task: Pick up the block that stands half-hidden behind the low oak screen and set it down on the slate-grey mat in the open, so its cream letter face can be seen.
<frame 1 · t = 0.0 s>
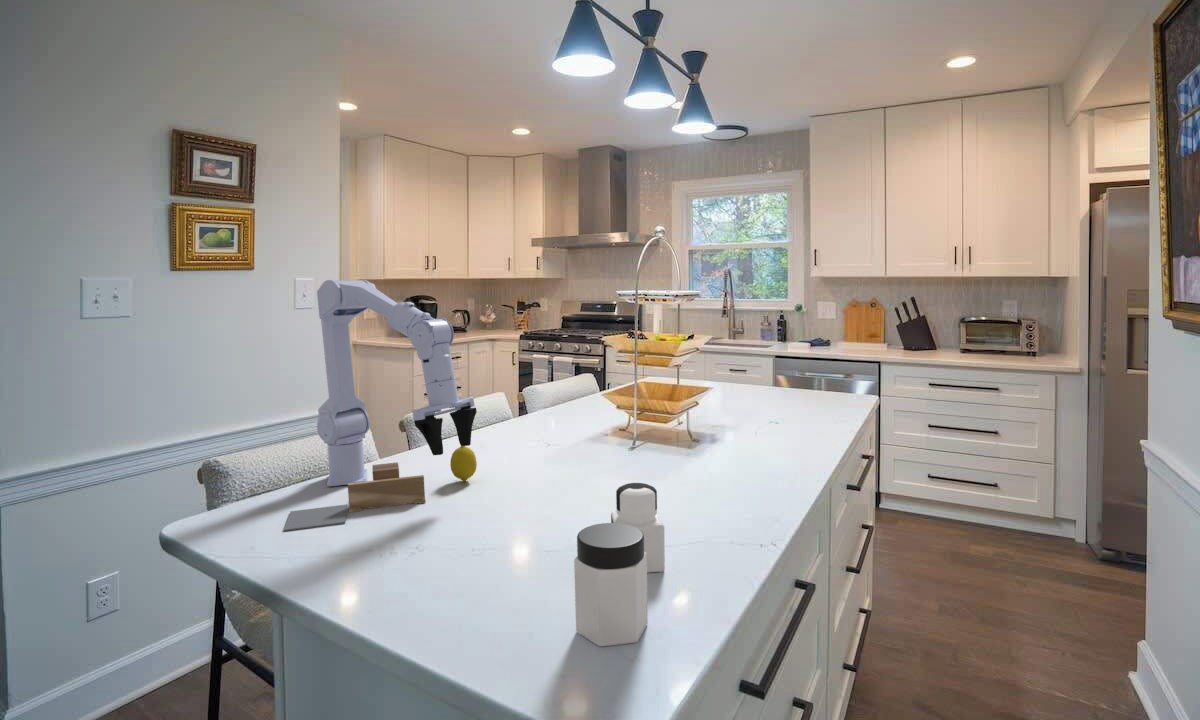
hand: (452, 450, 126), 11 cm above the counter, tool pointing down, fingers open, 7 cm apart
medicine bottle: (637, 564, 98), on the counter
letter block: (387, 495, 133), on the counter
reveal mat: (317, 517, 120), on the counter
jar: (612, 629, 80), on the counter
screen: (387, 504, 127), on the counter
lemon: (464, 482, 141), on the counter
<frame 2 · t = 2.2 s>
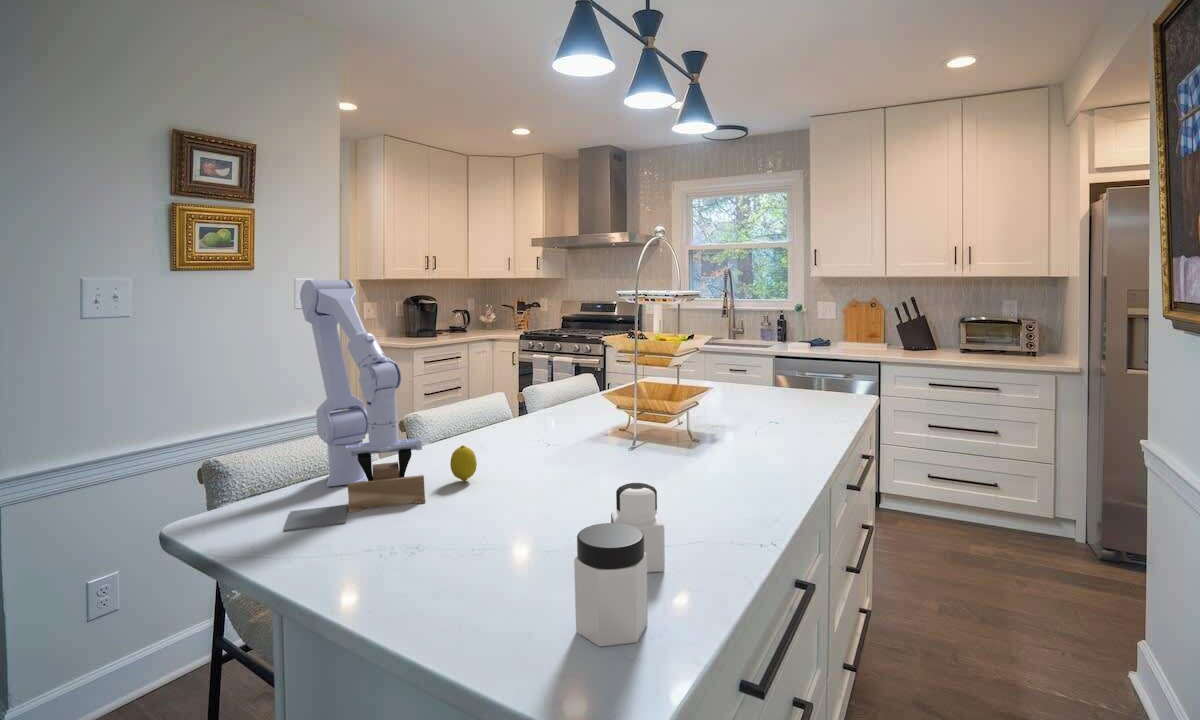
hand: (386, 487, 132), 2 cm above the counter, tool pointing down, fingers closed on letter block, 5 cm apart
letter block: (387, 494, 133), on the counter, touching gripper
everything else where it was.
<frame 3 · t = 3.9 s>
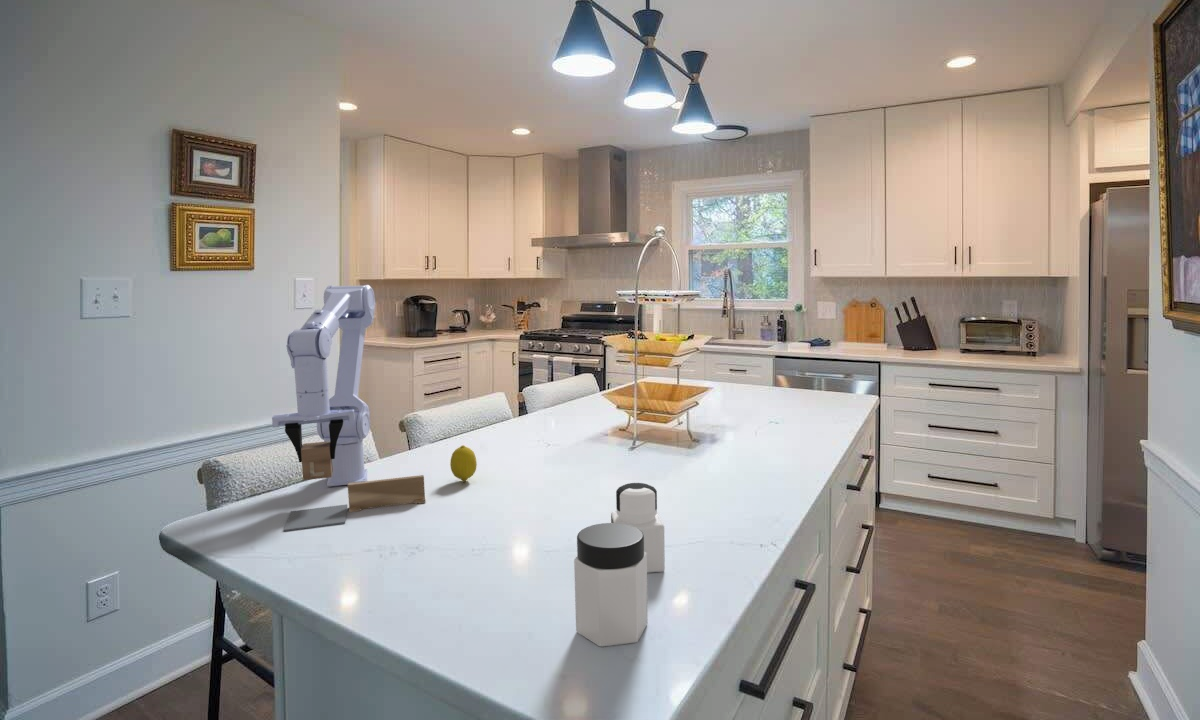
hand: (317, 459, 127), 9 cm above the counter, tool pointing down, fingers closed on letter block, 5 cm apart
letter block: (318, 475, 127), point 6 cm above the counter, touching gripper
everything else where it was.
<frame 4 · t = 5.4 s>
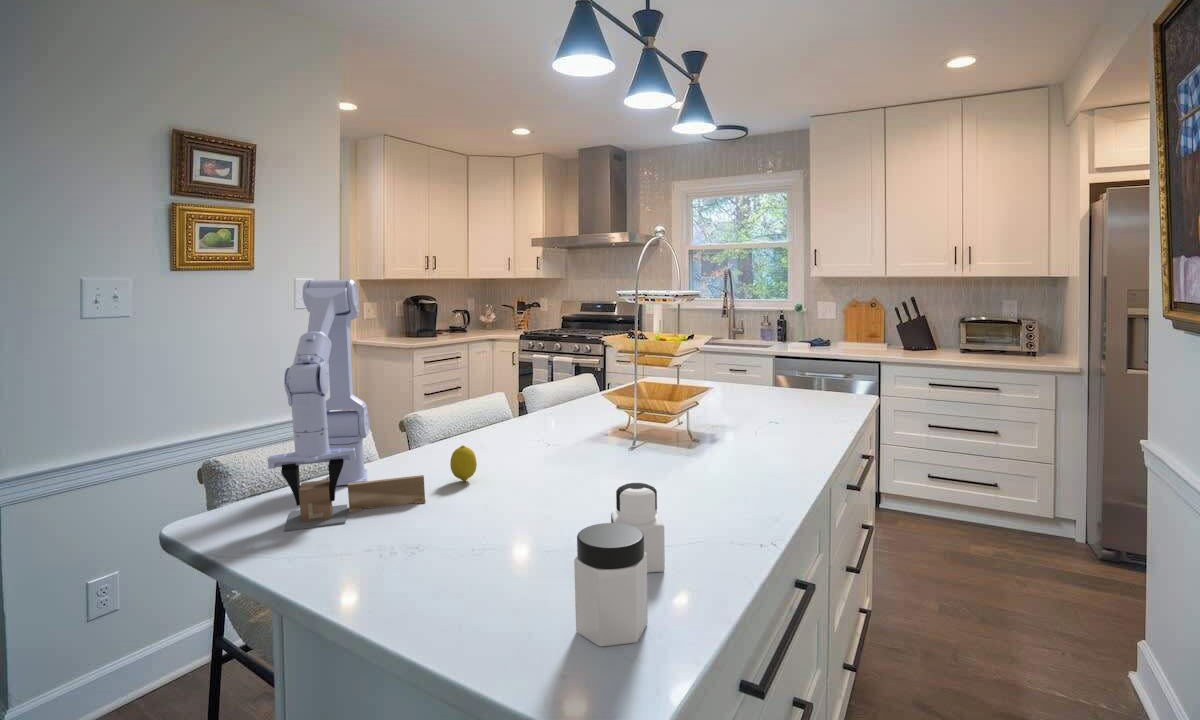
hand: (316, 501, 120), 3 cm above the counter, tool pointing down, fingers closed on letter block, 5 cm apart
letter block: (317, 516, 120), resting on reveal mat, touching gripper
everything else where it was.
when the fingers open (3 cm above the counter, at t = 6.0 s): letter block stays where it is, resting on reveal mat.
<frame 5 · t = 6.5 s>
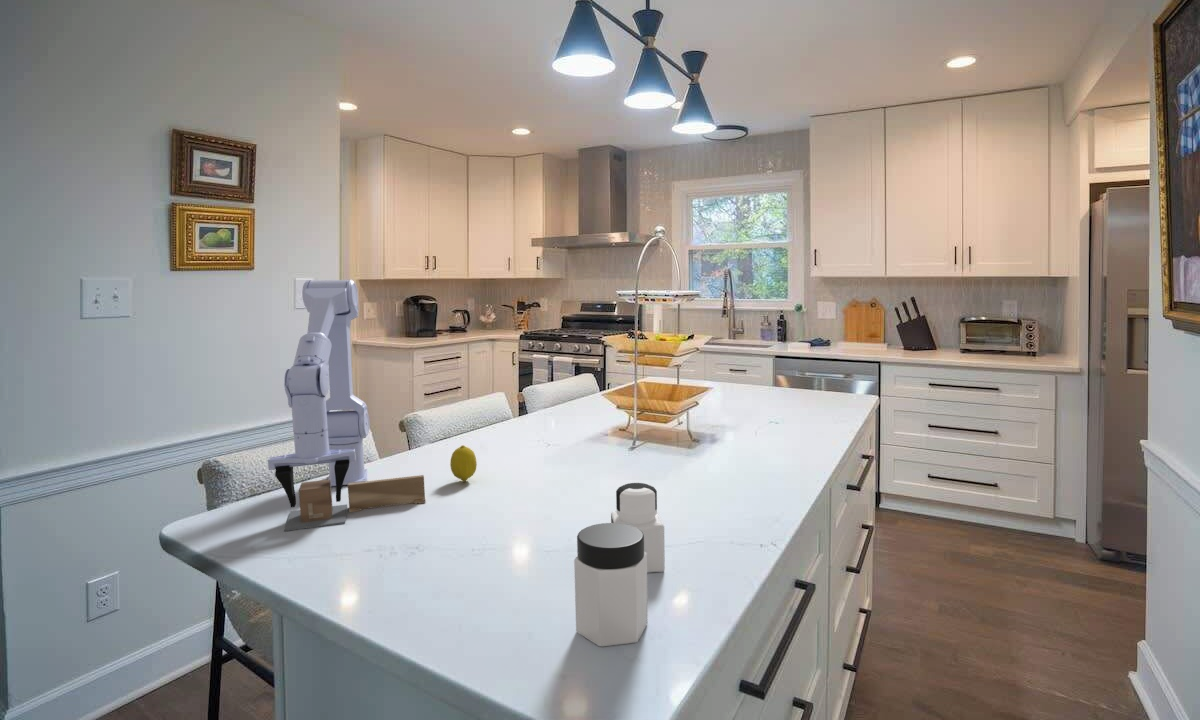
hand: (316, 502, 120), 3 cm above the counter, tool pointing down, fingers open, 7 cm apart
letter block: (317, 516, 120), resting on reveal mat
everything else where it was.
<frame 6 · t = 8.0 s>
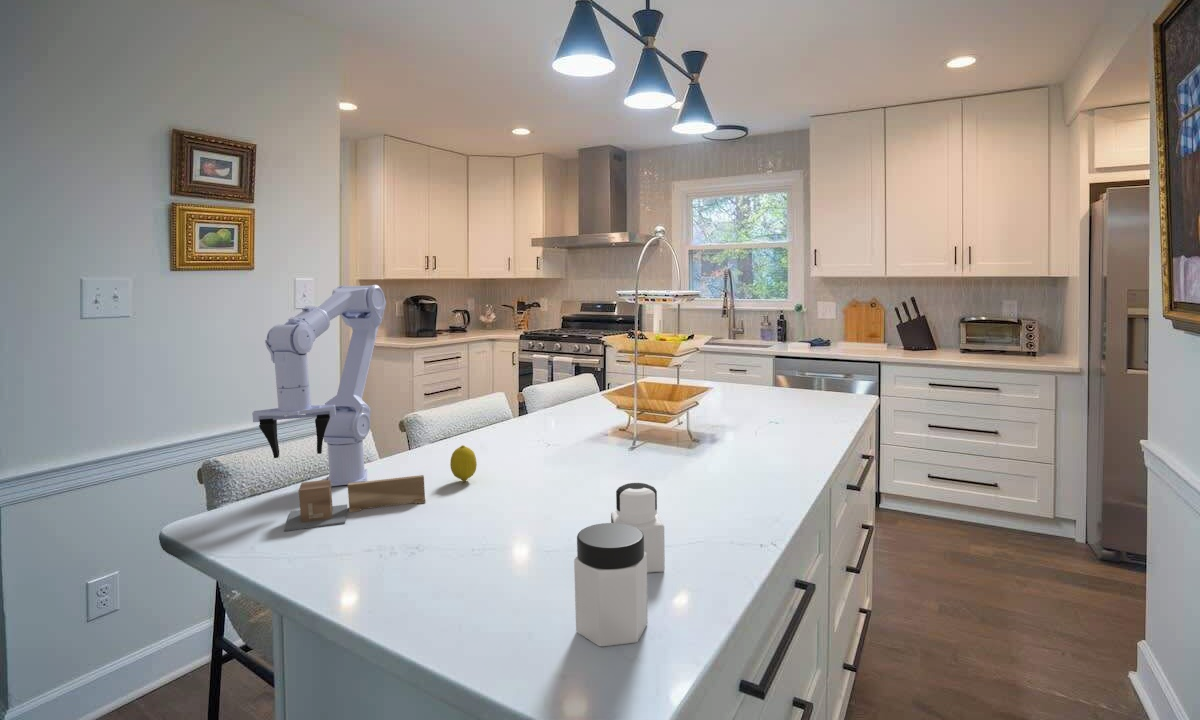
hand: (298, 454, 127), 10 cm above the counter, tool pointing down, fingers open, 7 cm apart
nothing on the counter moved.
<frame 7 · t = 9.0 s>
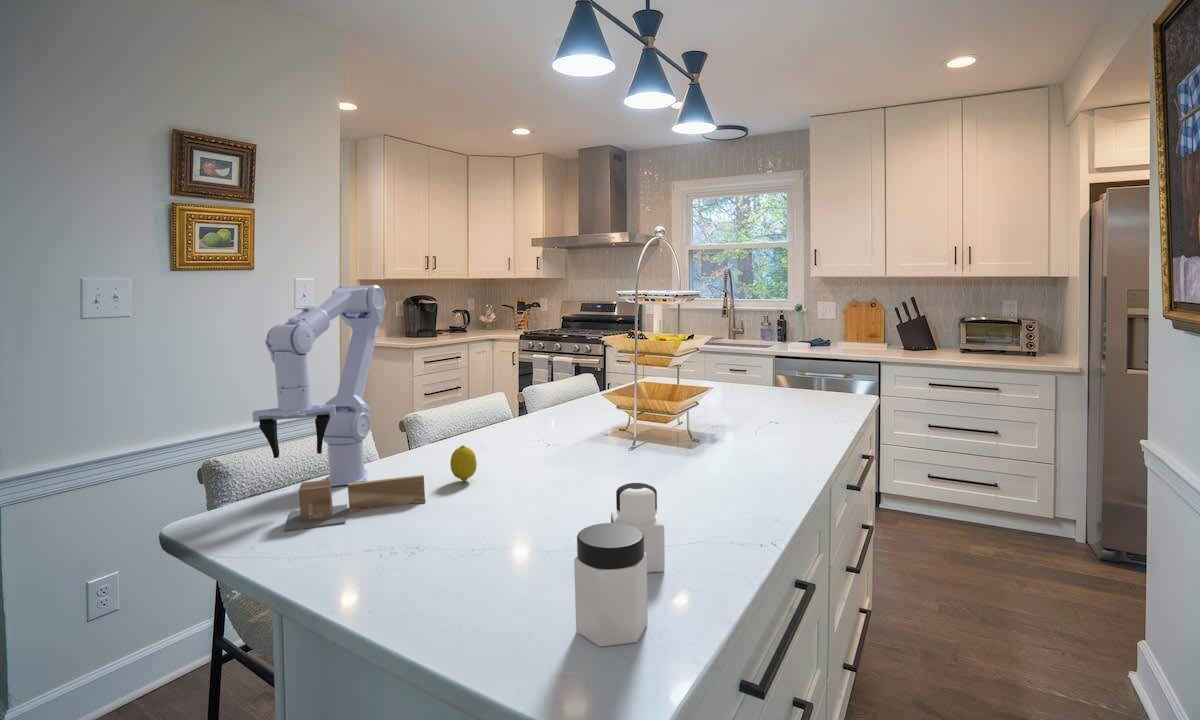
hand: (298, 454, 127), 10 cm above the counter, tool pointing down, fingers open, 7 cm apart
nothing on the counter moved.
at the end: letter block inside the target area on the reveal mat (0.1 cm from its centre), point 0.3 cm above the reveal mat's base; letter block tilted 0°; the gripper is holding nothing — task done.
